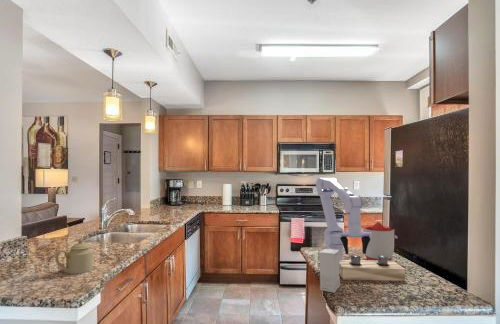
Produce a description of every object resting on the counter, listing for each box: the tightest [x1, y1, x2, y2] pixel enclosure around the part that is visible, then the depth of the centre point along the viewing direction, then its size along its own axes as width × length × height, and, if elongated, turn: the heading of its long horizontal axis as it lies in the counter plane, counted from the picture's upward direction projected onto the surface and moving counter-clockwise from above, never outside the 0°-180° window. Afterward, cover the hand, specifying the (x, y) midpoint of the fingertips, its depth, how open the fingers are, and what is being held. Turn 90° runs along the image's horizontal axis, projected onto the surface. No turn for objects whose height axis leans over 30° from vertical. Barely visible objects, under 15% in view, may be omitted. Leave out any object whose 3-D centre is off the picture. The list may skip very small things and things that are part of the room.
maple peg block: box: [339, 259, 406, 282], centre depth 140 cm, size 12×26×5 cm, turn 89°
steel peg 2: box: [378, 255, 388, 266], centre depth 140 cm, size 4×4×5 cm
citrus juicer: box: [361, 221, 399, 261], centre depth 164 cm, size 16×17×20 cm
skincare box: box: [319, 248, 341, 294], centre depth 125 cm, size 8×6×15 cm
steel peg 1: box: [350, 254, 361, 266], centre depth 141 cm, size 4×4×5 cm
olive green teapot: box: [54, 237, 94, 275], centre depth 144 cm, size 15×11×15 cm
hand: (355, 253), depth 140 cm, fingers open, 7 cm apart
